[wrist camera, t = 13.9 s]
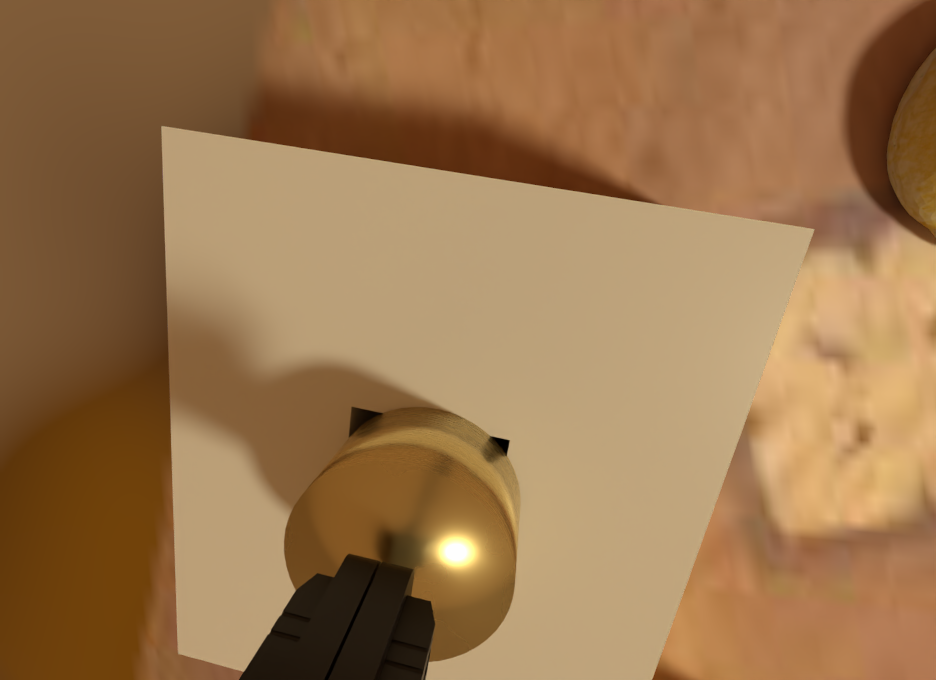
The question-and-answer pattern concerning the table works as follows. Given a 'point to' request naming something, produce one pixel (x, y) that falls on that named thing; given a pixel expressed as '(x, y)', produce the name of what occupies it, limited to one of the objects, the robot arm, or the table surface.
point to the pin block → (458, 379)
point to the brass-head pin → (418, 518)
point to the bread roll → (916, 146)
